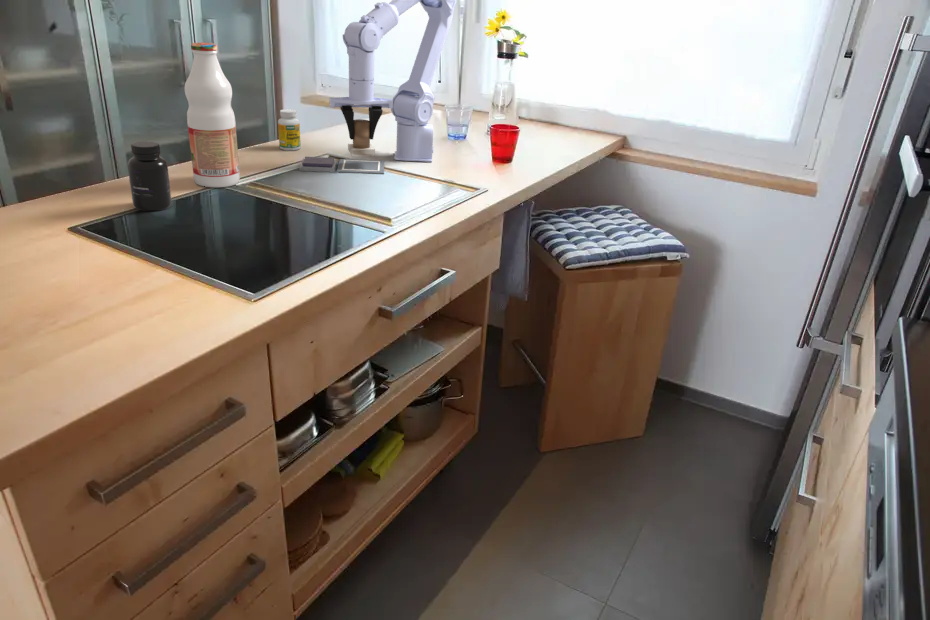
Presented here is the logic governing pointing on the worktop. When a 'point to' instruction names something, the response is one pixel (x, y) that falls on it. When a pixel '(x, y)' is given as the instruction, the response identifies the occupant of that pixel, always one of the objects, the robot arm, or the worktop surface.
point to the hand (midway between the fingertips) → (361, 138)
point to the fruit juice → (211, 120)
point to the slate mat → (361, 166)
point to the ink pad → (318, 164)
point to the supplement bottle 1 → (149, 177)
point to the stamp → (361, 139)
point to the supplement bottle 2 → (289, 130)
